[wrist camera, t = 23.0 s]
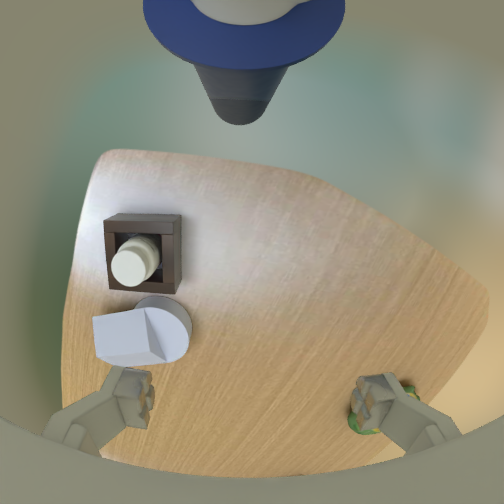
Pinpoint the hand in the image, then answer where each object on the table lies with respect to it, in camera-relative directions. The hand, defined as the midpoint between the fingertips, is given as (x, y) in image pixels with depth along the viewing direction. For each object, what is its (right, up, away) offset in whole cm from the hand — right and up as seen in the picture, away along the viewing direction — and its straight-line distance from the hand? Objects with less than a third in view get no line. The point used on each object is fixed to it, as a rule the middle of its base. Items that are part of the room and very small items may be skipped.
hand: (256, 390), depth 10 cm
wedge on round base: (-15, -5, +29) cm, 33 cm away
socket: (-13, +6, +26) cm, 30 cm away
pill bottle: (-13, +6, +26) cm, 30 cm away
